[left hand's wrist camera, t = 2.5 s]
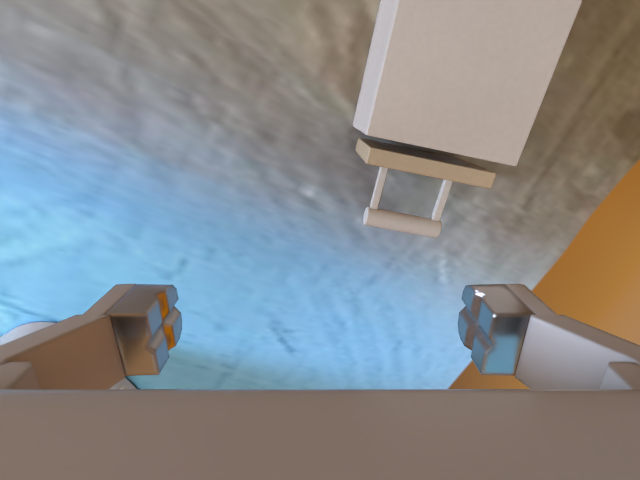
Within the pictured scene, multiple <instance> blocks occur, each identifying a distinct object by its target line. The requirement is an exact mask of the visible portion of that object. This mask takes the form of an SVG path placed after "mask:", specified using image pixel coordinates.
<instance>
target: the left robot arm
mask: <svg viewBox="0 0 640 480" xmlns="http://www.w3.org/2000/svg"><path fill="white" fill-rule="evenodd" d="M177 300H178V295H177V290H176V288H175V287H174V286H173V285H155V284H118V285H115V286H114V287H113V288H112V289H111V290H110V291H109V292H107V293H106V294H105V295H104V296H103V297H102V298H101V299H100V300H99V301H97V302H96V303H95V304H94V305H93V306H92V307H91V308H90V309H89V310H87V311H86V312H85V313H84V314H83V315H75V316H73V317H70V318H68V319H65V320H63V321H60V322H58V323H53V322H33V323H27V324H24V325H21V326H18V327H16V328H14V329H12V330H10V331H9V332H7V333H6V334H4V335H2V336H0V480H640V345H637V344H635V343H632V342H630V341H627V340H625V339H622V338H620V337H617V336H615V335H612V334H610V333H607V332H605V331H602V330H600V329H597V328H595V327H592V326H590V325H587V324H585V323H582V322H580V321H577V320H575V319H572V318H570V317H567V316H565V315H557V314H556V313H555V312H554V311H553V310H552V309H550V308H549V307H548V306H547V305H546V304H545V303H544V302H543V301H542V300H540V299H539V298H538V297H537V296H536V295H535V294H534V293H533V292H532V291H530V290H529V289H528V288H527V287H526V286H525V285H522V284H489V285H467V286H465V288H464V290H463V294H462V300H463V302H464V304H465V305H466V306H465V307H464V308H463V309H462V310H461V311H460V312H459V318H458V330H459V335H460V338H461V341H462V342H463V344H464V346H466V347H467V348H469V349H470V350H472V353H471V358H472V360H473V361H474V363H475V365H476V366H477V368H478V370H479V371H480V373H481V375H512V376H515V378H517V379H518V380H519V381H521V382H522V383H523V384H525V385H526V386H527V387H529V388H530V389H137V388H136V387H135V386H134V385H133V384H132V383H131V382H129V381H128V380H127V379H126V377H125V376H128V375H159V373H160V372H161V370H162V368H163V367H164V365H165V363H166V361H167V360H168V358H169V353H168V350H170V349H171V348H173V347H175V346H176V344H177V342H178V341H179V339H180V335H181V330H182V317H181V312H180V311H179V310H178V309H177V308H176V307H175V306H174V305H175V304H176V302H177Z"/></svg>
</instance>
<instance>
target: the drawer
mask: <svg viewBox="0 0 640 480" xmlns="http://www.w3.org/2000/svg"><path fill="white" fill-rule="evenodd" d="M355 151H356V152H357V153H358V154H359V156H360V157H361V158H362V159H363V160H364V161H365V163H366V164H370V165H375V166H380V169H379V173H378V176H377V180H376V184H375V188H374V192H373V196H372V200H371V203H370V207H367V208H366V210H365V213H364V218H363V224H364V225H367V226H373V227H378V228H383V229H389V230H394V231H399V232H405V233H410V234H416V235H421V236H426V237H432V238H437V237H438V236H439V235H440V232H441V227H442V225H441V221H440V218H441V215H442V212H443V209H444V206H445V203H446V200H447V197H448V194H449V191H450V188H451V185H452V182H453V181H454V182H459V183H464V184H469V185H474V186H479V187H484V188H489V189H490V188H491V187H492V184H493V182H494V179H495V177H496V173H494V172H492V171H489V170H487V169H484V168H482V167H479V166H477V165H474V164H472V163H469V162H466V161H464V160H461V159H458V158H454V157H449V156H444V155H439V154H434V153H430V152H425V151H420V150H415V149H410V148H406V147H401V146H396V145H391V144H386V143H381V142H377V141H372V140H367V139H362V138H358V141H357V145H356V149H355ZM388 168H390V169H395V170H400V171H405V172H410V173H415V174H420V175H425V176H429V177H434V178H439V179H444V180H443V183H442V186H441V189H440V192H439V195H438V198H437V201H436V204H435V207H434V210H433V213H432V216H431V219H429V218H424V217H419V216H413V215H408V214H403V213H398V212H392V211H387V210H382V209H378V205H379V202H380V198H381V194H382V190H383V187H384V183H385V179H386V176H387V172H388Z"/></svg>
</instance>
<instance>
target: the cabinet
mask: <svg viewBox="0 0 640 480" xmlns="http://www.w3.org/2000/svg"><path fill="white" fill-rule="evenodd" d="M581 3H582V0H381V1H380V6H379V10H378V15H377V19H376V23H375V28H374V32H373V37H372V41H371V46H370V50H369V55H368V59H367V64H366V68H365V73H364V77H363V82H362V86H361V91H360V95H359V100H358V104H357V109H356V113H355V118H354V122H353V127H355V128H356V129H358V130H360V131H361V132H363V133H364V134H366V135H368V136H373V137H377V138H382V139H387V140H392V141H397V142H401V143H406V144H411V145H416V146H421V147H425V148H430V149H435V150H440V151H444V152H449V153H454V154H459V155H464V156H468V157H473V158H478V159H483V160H487V161H492V162H497V163H502V164H507V165H511V166H517V163H518V161H519V158H520V156H521V153H522V151H523V148H524V146H525V143H526V141H527V138H528V136H529V133H530V131H531V128H532V126H533V123H534V121H535V118H536V116H537V113H538V111H539V108H540V106H541V103H542V100H543V98H544V95H545V93H546V90H547V88H548V85H549V83H550V80H551V78H552V75H553V73H554V70H555V68H556V65H557V63H558V60H559V58H560V55H561V53H562V50H563V48H564V45H565V43H566V40H567V38H568V35H569V33H570V30H571V28H572V25H573V23H574V20H575V18H576V15H577V13H578V10H579V8H580V5H581Z"/></svg>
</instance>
